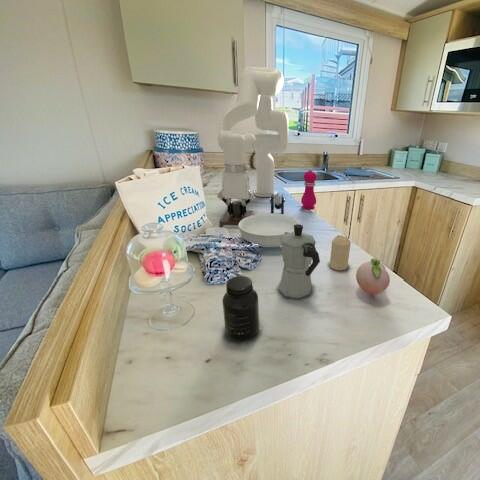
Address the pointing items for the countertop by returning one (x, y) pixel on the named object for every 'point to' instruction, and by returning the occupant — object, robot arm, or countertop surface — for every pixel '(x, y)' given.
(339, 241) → the candle
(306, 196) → the pepper mill
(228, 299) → the supplement bottle
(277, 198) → the tap lever
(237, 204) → the tap knob
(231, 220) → the brown rectangular slab
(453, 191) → the countertop surface
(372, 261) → the decorative fruit
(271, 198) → the tap bracket
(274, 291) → the countertop surface
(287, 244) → the coffee maker
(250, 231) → the serving bowl
